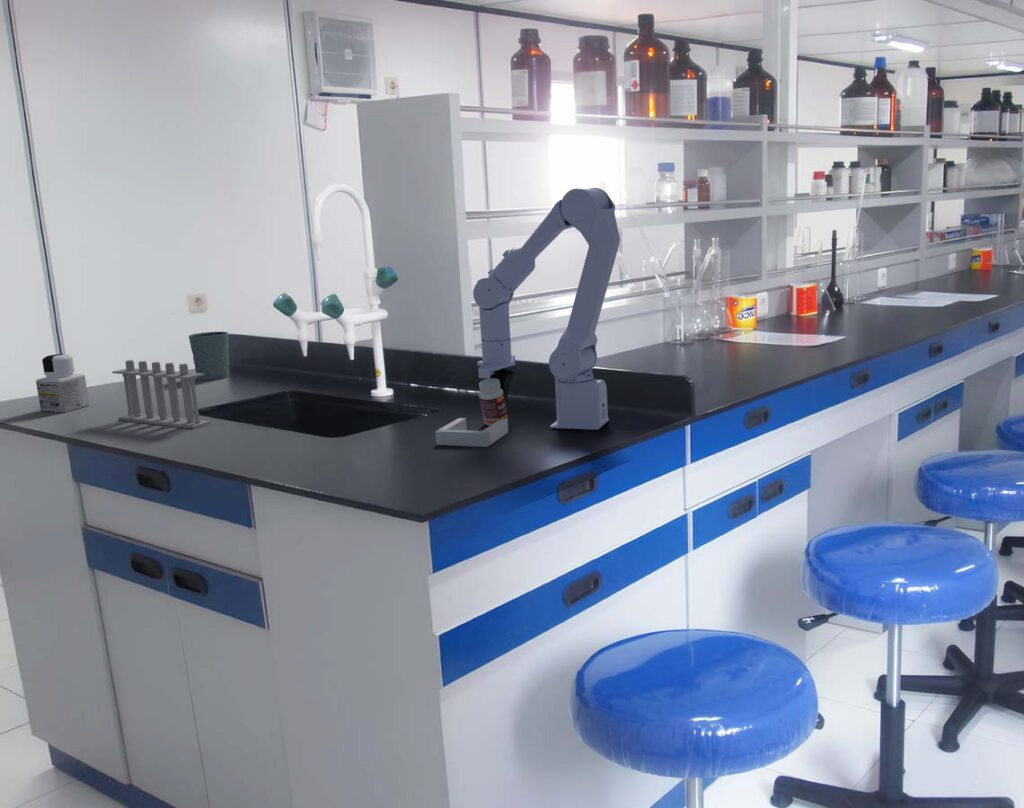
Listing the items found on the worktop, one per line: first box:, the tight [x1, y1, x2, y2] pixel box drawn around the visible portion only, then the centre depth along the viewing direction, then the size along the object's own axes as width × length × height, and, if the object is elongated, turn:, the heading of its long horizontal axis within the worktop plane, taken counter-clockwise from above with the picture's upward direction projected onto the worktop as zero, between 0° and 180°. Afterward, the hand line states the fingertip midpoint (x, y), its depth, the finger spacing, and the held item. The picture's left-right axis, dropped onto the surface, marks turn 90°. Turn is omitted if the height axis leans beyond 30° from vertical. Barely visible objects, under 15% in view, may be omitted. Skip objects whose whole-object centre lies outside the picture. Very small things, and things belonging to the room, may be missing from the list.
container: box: [35, 353, 90, 413], centre depth 224 cm, size 8×8×13 cm
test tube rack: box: [111, 359, 212, 430], centre depth 203 cm, size 25×4×13 cm, turn 58°
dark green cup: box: [188, 331, 230, 382], centre depth 257 cm, size 10×10×12 cm
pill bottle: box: [478, 378, 508, 427], centre depth 183 cm, size 5×5×8 cm
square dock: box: [435, 417, 509, 448], centre depth 175 cm, size 10×10×2 cm
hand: (499, 407), depth 187 cm, fingers closed
